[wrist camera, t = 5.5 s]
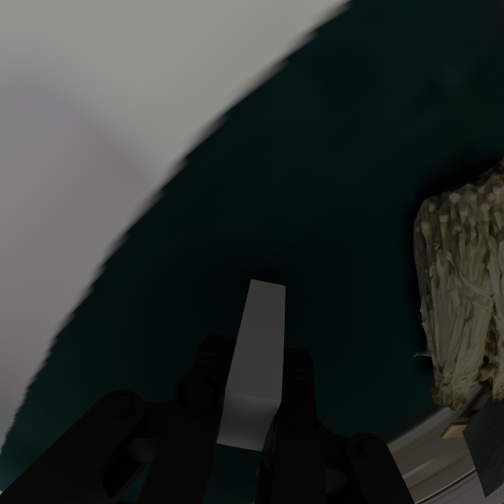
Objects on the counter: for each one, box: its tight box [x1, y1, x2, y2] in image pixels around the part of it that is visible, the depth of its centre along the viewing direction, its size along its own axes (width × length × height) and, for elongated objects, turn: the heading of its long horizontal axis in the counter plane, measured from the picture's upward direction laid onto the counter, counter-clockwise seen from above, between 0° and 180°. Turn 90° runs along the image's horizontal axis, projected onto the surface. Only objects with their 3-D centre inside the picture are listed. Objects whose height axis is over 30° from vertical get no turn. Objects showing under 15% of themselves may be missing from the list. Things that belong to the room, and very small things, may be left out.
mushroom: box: [412, 157, 504, 411], centre depth 13 cm, size 14×10×5 cm, turn 21°
